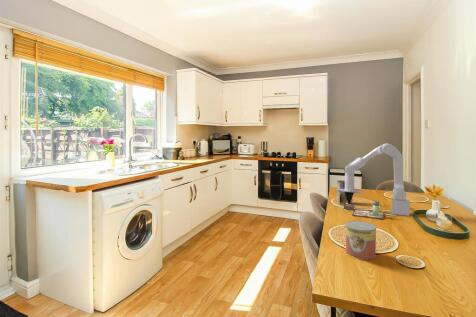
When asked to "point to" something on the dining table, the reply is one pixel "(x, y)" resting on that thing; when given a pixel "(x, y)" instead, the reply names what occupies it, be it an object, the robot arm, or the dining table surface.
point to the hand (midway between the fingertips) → (349, 203)
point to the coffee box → (341, 195)
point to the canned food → (361, 239)
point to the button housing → (349, 207)
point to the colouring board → (367, 214)
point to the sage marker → (376, 208)
